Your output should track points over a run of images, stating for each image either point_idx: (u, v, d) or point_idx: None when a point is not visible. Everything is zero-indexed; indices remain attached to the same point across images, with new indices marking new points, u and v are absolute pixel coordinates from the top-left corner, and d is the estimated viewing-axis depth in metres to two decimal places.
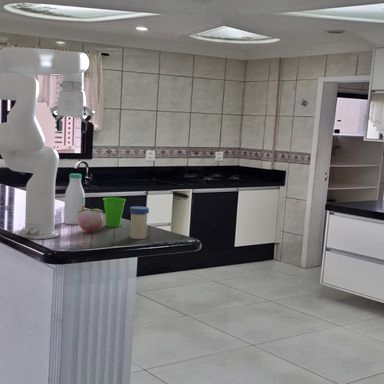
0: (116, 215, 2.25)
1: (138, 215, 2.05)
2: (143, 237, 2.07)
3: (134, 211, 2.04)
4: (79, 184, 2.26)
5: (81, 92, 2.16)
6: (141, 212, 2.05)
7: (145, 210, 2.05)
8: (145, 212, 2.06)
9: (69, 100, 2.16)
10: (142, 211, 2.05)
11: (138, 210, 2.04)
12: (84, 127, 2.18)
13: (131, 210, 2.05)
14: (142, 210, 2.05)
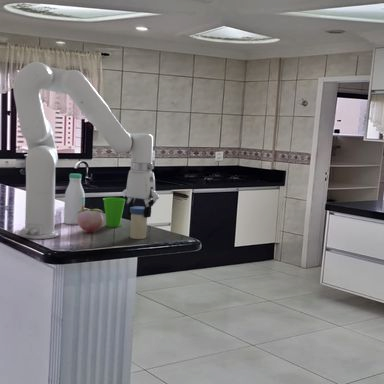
0: (116, 215, 2.25)
1: (138, 215, 2.05)
2: (143, 237, 2.07)
3: (134, 211, 2.04)
4: (79, 184, 2.26)
5: None
6: (141, 212, 2.05)
7: None
8: None
9: None
10: (142, 212, 2.05)
11: (138, 210, 2.04)
12: None
13: (131, 210, 2.05)
14: (142, 210, 2.05)
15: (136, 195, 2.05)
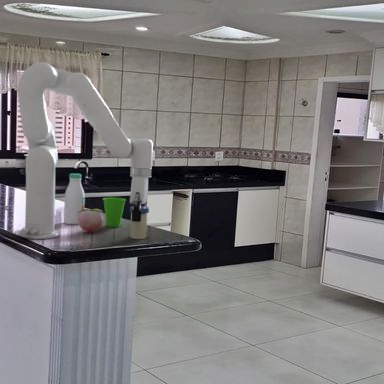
0: (116, 215, 2.25)
1: None
2: (143, 237, 2.07)
3: (148, 210, 2.08)
4: (79, 184, 2.26)
5: (133, 178, 2.02)
6: None
7: None
8: None
9: None
10: None
11: None
12: (133, 215, 2.02)
13: (147, 210, 2.06)
14: None
15: (145, 200, 2.07)
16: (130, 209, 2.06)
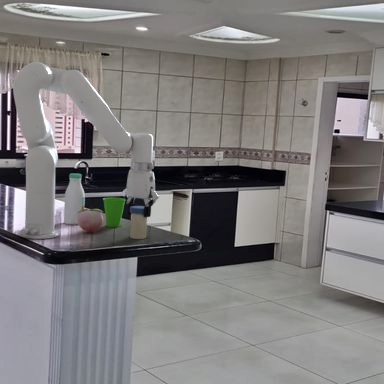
0: (116, 215, 2.25)
1: (138, 215, 2.05)
2: (143, 237, 2.07)
3: None
4: (79, 184, 2.26)
5: None
6: None
7: None
8: None
9: None
10: None
11: None
12: None
13: None
14: None
15: (136, 195, 2.05)
16: (130, 209, 2.06)
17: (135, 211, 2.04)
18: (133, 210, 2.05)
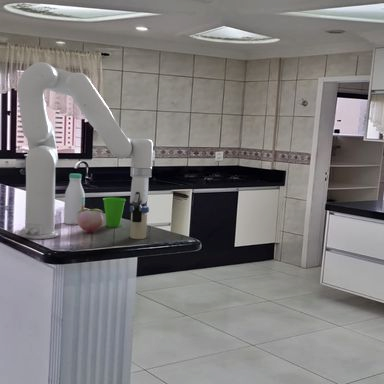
0: (116, 215, 2.25)
1: None
2: (143, 237, 2.07)
3: None
4: (79, 184, 2.26)
5: (133, 178, 2.02)
6: None
7: (130, 208, 2.06)
8: (130, 210, 2.06)
9: None
10: None
11: None
12: (134, 216, 2.03)
13: None
14: None
15: (145, 200, 2.07)
16: (146, 210, 2.06)
17: None
18: (148, 209, 2.08)
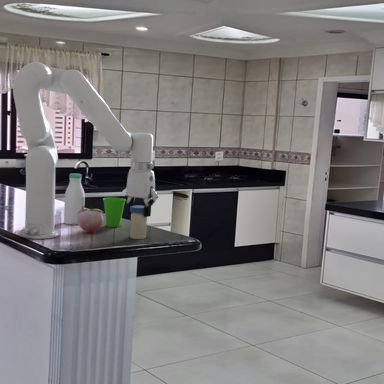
0: (116, 215, 2.25)
1: (138, 215, 2.05)
2: (143, 237, 2.07)
3: None
4: (79, 184, 2.26)
5: None
6: None
7: (130, 208, 2.06)
8: (130, 210, 2.06)
9: None
10: None
11: None
12: None
13: None
14: None
15: (136, 194, 2.05)
16: None
17: None
18: None
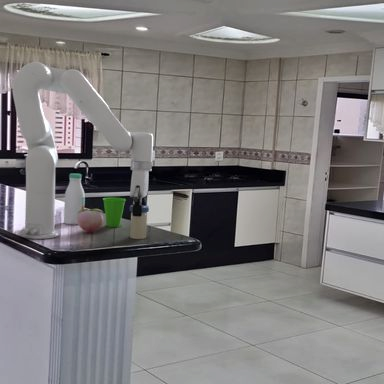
0: (116, 215, 2.25)
1: None
2: (143, 237, 2.07)
3: None
4: (79, 184, 2.26)
5: (133, 171, 2.02)
6: None
7: (144, 209, 2.05)
8: (144, 211, 2.05)
9: None
10: None
11: None
12: (134, 210, 2.03)
13: (130, 208, 2.05)
14: None
15: (145, 194, 2.07)
16: None
17: None
18: None
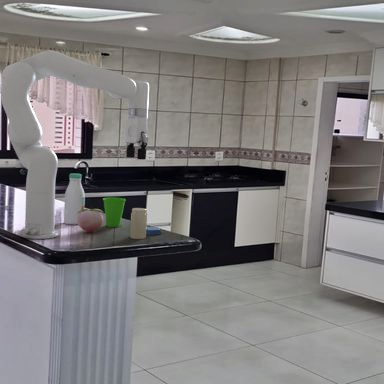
0: (116, 215, 2.25)
1: (138, 215, 2.05)
2: (143, 237, 2.07)
3: (150, 232, 2.15)
4: (79, 184, 2.26)
5: (138, 118, 2.12)
6: (156, 233, 2.16)
7: (159, 230, 2.17)
8: (159, 232, 2.17)
9: (130, 126, 2.15)
10: (157, 232, 2.16)
11: (154, 231, 2.15)
12: (140, 154, 2.13)
13: (146, 231, 2.15)
14: (157, 231, 2.16)
15: None
16: None
17: None
18: None
